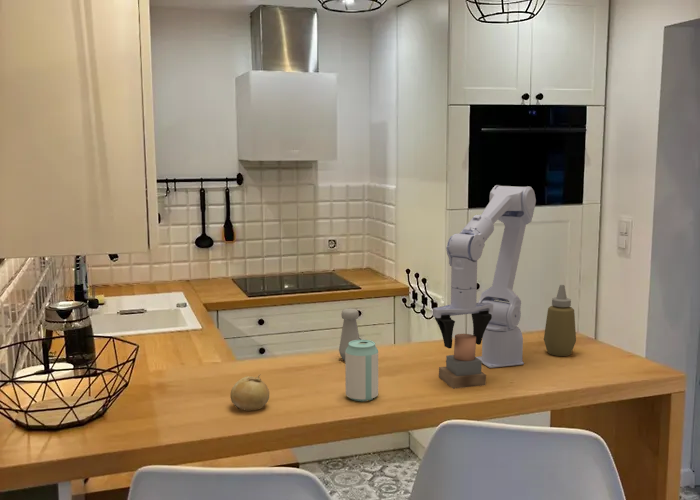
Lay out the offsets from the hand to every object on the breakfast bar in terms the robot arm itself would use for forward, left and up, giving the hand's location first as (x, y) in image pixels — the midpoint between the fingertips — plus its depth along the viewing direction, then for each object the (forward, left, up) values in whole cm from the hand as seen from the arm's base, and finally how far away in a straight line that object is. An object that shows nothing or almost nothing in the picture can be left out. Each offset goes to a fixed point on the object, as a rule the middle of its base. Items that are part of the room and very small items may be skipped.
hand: (462, 345), depth 163 cm
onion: (+49, +2, -9) cm, 50 cm away
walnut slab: (0, 0, -9) cm, 9 cm away
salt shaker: (+20, -23, -9) cm, 32 cm away
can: (+25, +3, -9) cm, 27 cm away
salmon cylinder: (0, 0, -3) cm, 3 cm away
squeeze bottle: (-33, -12, -9) cm, 36 cm away
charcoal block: (0, 0, -6) cm, 6 cm away
